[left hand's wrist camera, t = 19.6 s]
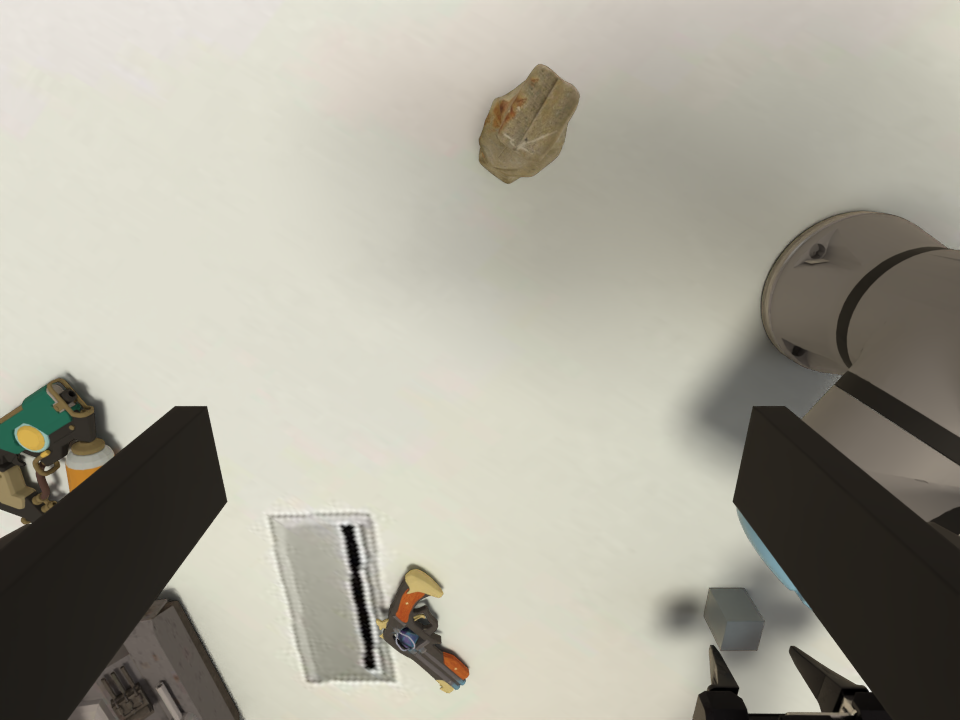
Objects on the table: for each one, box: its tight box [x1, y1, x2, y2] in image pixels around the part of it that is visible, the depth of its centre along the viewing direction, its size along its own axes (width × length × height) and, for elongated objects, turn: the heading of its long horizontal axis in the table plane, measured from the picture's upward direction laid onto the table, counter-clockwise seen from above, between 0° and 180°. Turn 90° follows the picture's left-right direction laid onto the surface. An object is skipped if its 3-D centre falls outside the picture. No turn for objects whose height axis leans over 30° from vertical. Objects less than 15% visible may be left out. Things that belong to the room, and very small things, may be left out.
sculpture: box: [479, 64, 580, 184], centre depth 38 cm, size 6×7×15 cm
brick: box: [704, 588, 765, 651], centre depth 62 cm, size 5×4×5 cm
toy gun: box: [376, 569, 469, 693], centre depth 65 cm, size 3×19×10 cm
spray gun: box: [0, 378, 115, 524], centre depth 55 cm, size 4×17×15 cm
